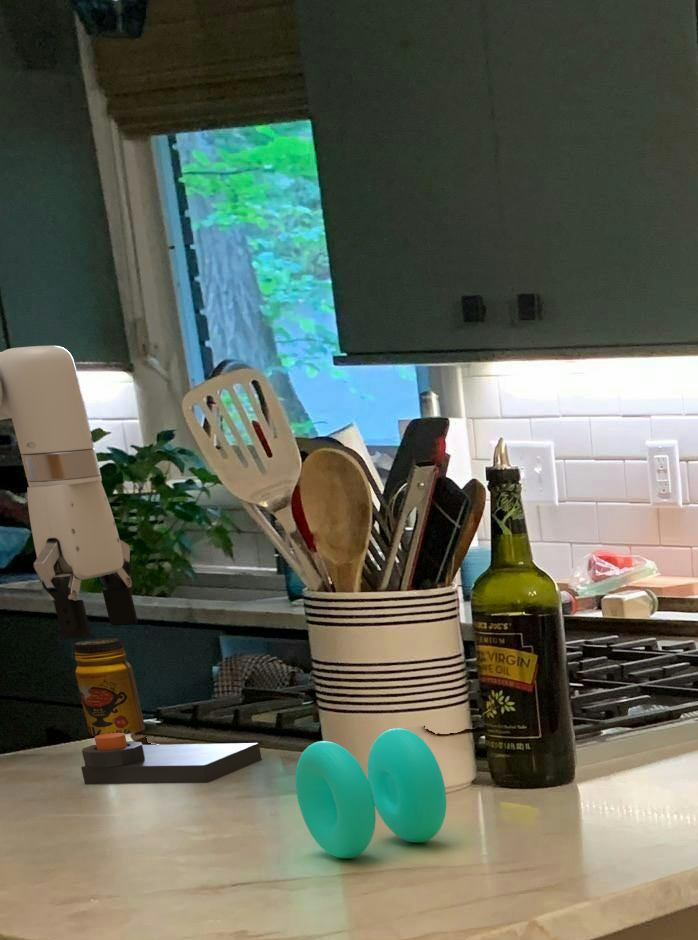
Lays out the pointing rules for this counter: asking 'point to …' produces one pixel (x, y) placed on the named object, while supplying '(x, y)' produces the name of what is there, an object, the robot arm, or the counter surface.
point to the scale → (166, 762)
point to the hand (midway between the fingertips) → (101, 631)
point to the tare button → (110, 741)
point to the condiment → (108, 688)
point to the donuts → (370, 792)
